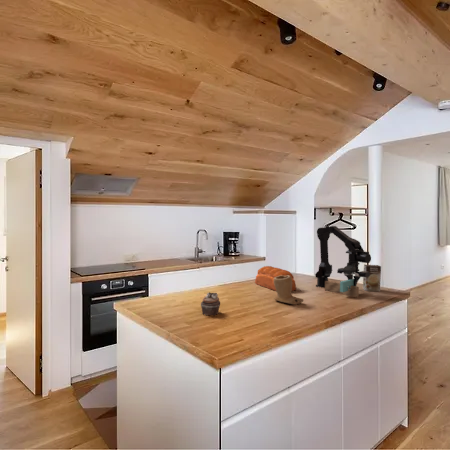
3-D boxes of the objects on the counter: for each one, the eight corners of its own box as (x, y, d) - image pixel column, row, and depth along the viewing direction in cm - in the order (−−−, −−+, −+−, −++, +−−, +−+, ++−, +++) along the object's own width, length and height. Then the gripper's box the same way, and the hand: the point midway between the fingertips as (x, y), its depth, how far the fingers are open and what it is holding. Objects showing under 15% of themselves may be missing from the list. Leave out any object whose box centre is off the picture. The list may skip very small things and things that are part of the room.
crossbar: (342, 292, 205) (343, 282, 204) (339, 291, 206) (340, 281, 206) (356, 288, 214) (356, 279, 214) (353, 288, 216) (353, 278, 216)
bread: (271, 281, 250) (271, 263, 249) (299, 290, 222) (299, 270, 222) (252, 283, 243) (252, 265, 242) (279, 293, 215) (279, 272, 214)
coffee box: (365, 291, 221) (366, 266, 221) (362, 288, 228) (363, 264, 227) (380, 291, 220) (381, 266, 220) (377, 289, 227) (377, 264, 226)
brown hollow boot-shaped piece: (268, 301, 195) (269, 274, 194) (283, 298, 202) (283, 272, 201) (289, 307, 183) (289, 279, 182) (304, 303, 190) (304, 276, 189)
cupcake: (201, 310, 177) (201, 290, 176) (220, 310, 176) (220, 291, 176) (199, 315, 167) (199, 295, 167) (219, 316, 167) (219, 295, 166)
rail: (324, 290, 222) (324, 281, 222) (326, 290, 223) (326, 280, 223) (356, 297, 205) (356, 287, 205) (358, 296, 206) (358, 286, 206)
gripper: (332, 260, 215) (332, 285, 216) (360, 264, 200) (360, 291, 201) (342, 258, 222) (342, 283, 223) (370, 262, 208) (369, 288, 208)
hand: (352, 286), depth 213 cm, fingers closed on crossbar, 2 cm apart
